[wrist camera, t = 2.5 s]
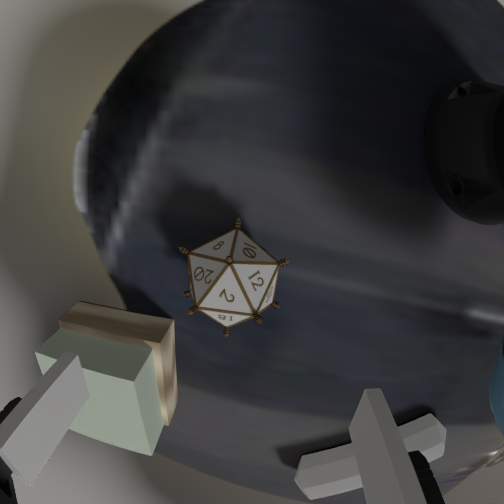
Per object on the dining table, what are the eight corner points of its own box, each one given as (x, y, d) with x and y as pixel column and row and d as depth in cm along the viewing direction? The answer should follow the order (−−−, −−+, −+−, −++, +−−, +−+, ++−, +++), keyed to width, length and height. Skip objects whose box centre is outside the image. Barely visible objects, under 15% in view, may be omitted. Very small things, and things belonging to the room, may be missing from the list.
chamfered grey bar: (452, 413, 28) (284, 469, 32) (456, 452, 26) (296, 505, 30) (434, 401, 35) (289, 448, 39) (439, 436, 33) (300, 482, 37)
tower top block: (61, 327, 26) (34, 351, 21) (153, 348, 26) (133, 381, 21) (82, 401, 29) (65, 427, 24) (163, 424, 29) (151, 455, 24)
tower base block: (80, 300, 30) (57, 319, 26) (174, 317, 30) (160, 343, 25) (96, 378, 34) (80, 400, 29) (178, 398, 33) (168, 426, 29)
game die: (227, 266, 32) (155, 319, 25) (231, 193, 27) (140, 240, 20) (300, 306, 28) (234, 379, 21) (320, 231, 23) (240, 304, 16)
